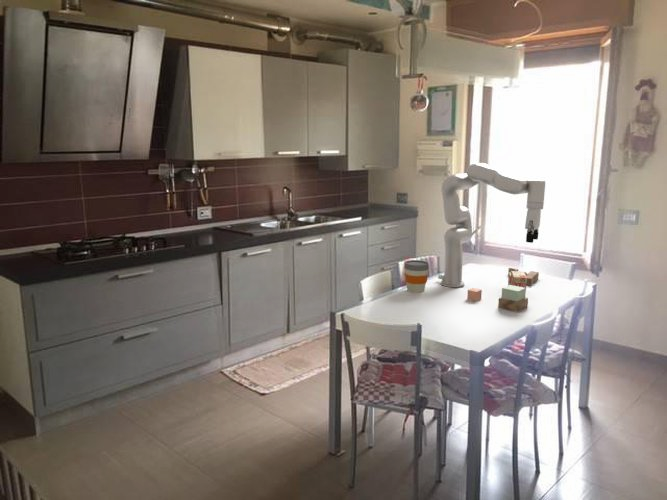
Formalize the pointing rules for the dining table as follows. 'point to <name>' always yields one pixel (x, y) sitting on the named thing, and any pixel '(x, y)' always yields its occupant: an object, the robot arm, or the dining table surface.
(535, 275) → the wooden block set
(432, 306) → the dining table surface
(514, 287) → the sage tower block
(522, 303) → the walnut tower base
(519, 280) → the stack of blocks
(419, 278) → the reusable coffee cup
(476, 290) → the terracotta cube
